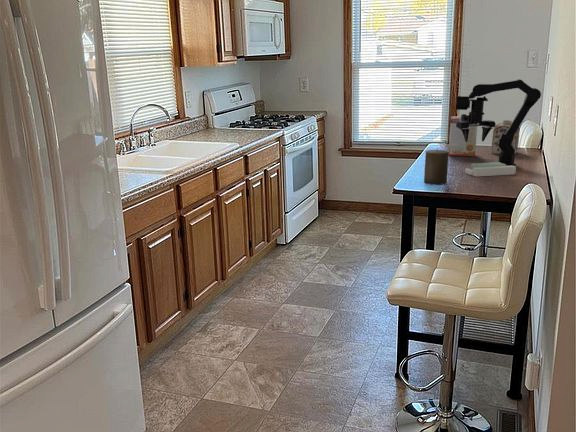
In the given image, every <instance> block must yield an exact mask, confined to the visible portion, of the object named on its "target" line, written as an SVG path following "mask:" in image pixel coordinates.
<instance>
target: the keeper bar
mask: <svg viewBox="0 0 576 432" xmlns="http://www.w3.org/2000/svg"><path fill="white" fill-rule="evenodd" d="M495 166H506V164H503V163H500V162H499V161H495V162H494V161H493V162H475V163H471V168H470V169H471V170H473V168H477V167H495Z"/></svg>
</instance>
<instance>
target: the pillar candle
mask: <svg viewBox="0 0 576 432" xmlns="http://www.w3.org/2000/svg"><path fill="white" fill-rule="evenodd" d="M448 154H449V150H444V149H439V148H438V147H437V148H436V149H428V150H425V156H424V157H425V161H424V174H423V175H424V177H423V183H425V184H429V185H436V186H437V185H439V186H440V185H445V184H447V183H448V168H449V167H448V166H449V155H448Z"/></svg>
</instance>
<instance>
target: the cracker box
mask: <svg viewBox="0 0 576 432" xmlns="http://www.w3.org/2000/svg"><path fill="white" fill-rule="evenodd" d="M460 121H461V115H460V116H458V115H457V116H456V115H455V116H454V115H453V116H451V117H450V122H449V123H450V127H449V138H448V139H449V140H448V152H449V154H448V156H450V157H451V156H454V157H455V156H456V157H458V156H459V157H475V156H476V151H477V150H476V148H477V134H478V133H477V132H478V126H469V127H468V129H469V135H468V140H467V142H465V139H464V136H463V133H462V131H461V129H459V128H458V127H456V123H457V122H460ZM474 124H475V123H474Z"/></svg>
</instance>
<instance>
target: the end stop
mask: <svg viewBox="0 0 576 432" xmlns="http://www.w3.org/2000/svg"><path fill="white" fill-rule="evenodd" d="M516 169H517V166H516V165H511V166H495V167H477V168H473V170H471V168H466V167H465V169H464V173H465V174H467V175H470V176H474V177H477V178H478V177H489V176H490V177H492V176H508V175H516Z"/></svg>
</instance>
